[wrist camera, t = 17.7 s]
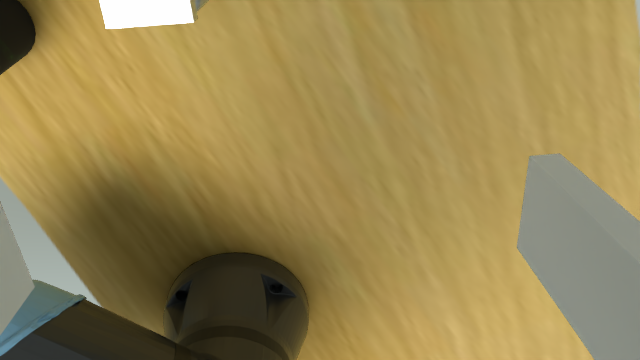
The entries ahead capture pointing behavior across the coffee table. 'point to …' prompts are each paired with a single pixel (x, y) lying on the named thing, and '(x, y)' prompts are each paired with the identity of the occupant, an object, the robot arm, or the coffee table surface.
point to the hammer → (149, 12)
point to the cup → (14, 33)
